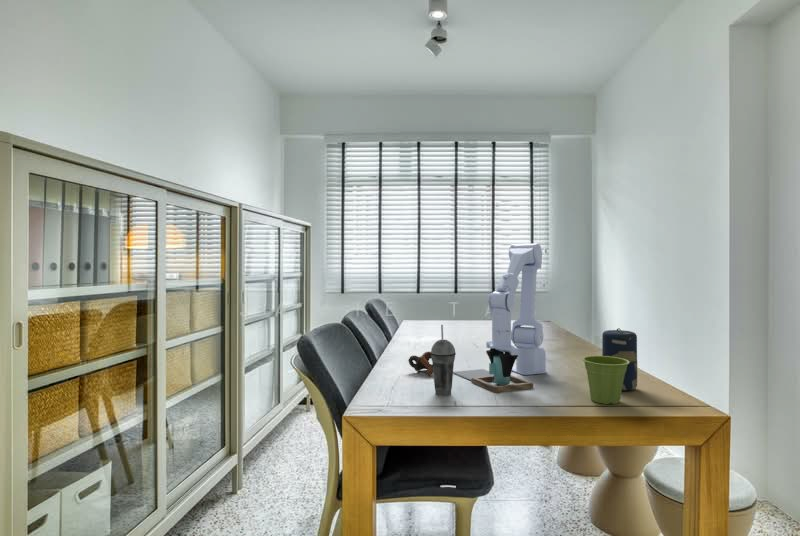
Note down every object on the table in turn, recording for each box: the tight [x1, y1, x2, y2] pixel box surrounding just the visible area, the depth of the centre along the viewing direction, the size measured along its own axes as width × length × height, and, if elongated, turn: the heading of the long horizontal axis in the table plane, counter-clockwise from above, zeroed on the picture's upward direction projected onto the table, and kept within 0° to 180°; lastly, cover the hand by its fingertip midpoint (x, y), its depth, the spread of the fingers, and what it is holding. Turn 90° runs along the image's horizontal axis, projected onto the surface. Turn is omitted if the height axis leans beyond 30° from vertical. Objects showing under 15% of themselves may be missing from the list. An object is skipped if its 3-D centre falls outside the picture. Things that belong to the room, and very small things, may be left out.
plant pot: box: [581, 355, 630, 405], centre depth 136 cm, size 12×12×11 cm
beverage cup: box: [430, 324, 457, 397], centre depth 145 cm, size 7×7×20 cm
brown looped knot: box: [408, 351, 433, 377], centre depth 172 cm, size 12×10×8 cm
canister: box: [601, 327, 638, 391], centre depth 150 cm, size 10×10×18 cm
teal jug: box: [488, 355, 511, 386], centre depth 154 cm, size 7×5×8 cm
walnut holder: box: [471, 374, 534, 393], centre depth 154 cm, size 13×13×2 cm
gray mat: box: [453, 368, 494, 382], centre depth 168 cm, size 12×12×1 cm
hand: (501, 374), depth 154 cm, fingers closed on teal jug, 5 cm apart
